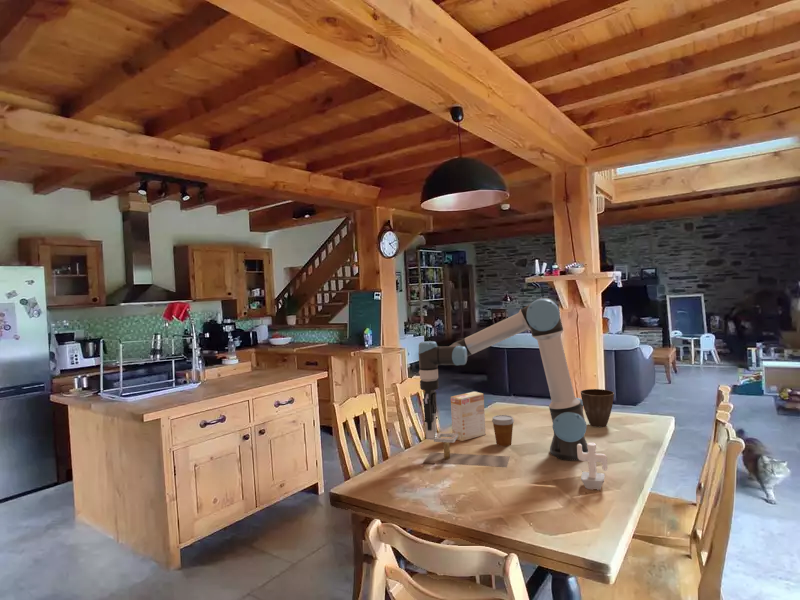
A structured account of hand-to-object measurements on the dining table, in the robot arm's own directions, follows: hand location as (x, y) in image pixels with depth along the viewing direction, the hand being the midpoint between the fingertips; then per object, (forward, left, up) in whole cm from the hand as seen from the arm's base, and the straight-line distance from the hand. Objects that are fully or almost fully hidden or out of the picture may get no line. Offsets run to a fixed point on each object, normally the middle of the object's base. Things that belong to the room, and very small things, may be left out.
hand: (431, 436), depth 205 cm
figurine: (-61, +18, -10) cm, 64 cm away
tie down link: (-4, 0, -1) cm, 4 cm away
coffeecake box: (-10, -32, -10) cm, 35 cm away
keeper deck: (-14, 0, -9) cm, 17 cm away
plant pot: (-68, -58, -10) cm, 89 cm away
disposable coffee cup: (-27, -22, -10) cm, 36 cm away
